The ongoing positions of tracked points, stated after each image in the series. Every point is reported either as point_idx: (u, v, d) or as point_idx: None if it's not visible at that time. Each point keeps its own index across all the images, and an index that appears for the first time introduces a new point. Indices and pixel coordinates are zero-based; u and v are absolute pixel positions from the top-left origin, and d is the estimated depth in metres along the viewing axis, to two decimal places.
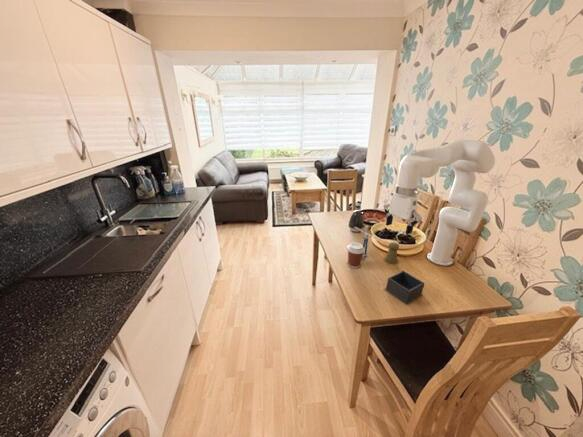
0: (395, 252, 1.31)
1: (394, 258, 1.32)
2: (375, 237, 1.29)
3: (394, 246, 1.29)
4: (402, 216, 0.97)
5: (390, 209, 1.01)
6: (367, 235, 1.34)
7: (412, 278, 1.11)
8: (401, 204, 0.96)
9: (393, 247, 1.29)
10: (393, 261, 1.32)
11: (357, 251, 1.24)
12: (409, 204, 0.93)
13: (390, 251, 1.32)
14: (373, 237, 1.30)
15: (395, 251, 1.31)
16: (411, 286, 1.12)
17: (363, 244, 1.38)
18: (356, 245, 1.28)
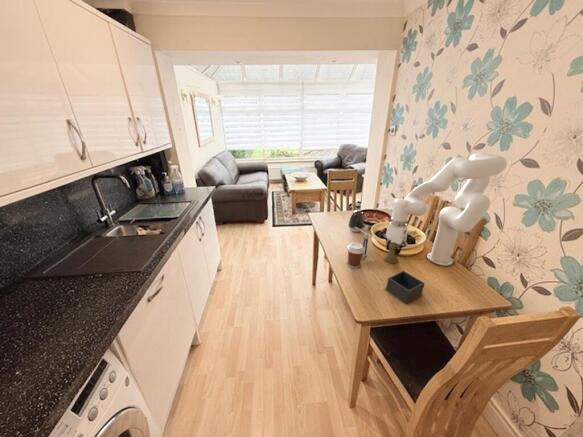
0: None
1: (394, 258, 1.32)
2: (375, 237, 1.29)
3: (394, 246, 1.29)
4: (396, 241, 1.27)
5: (387, 235, 1.31)
6: (367, 235, 1.34)
7: (412, 278, 1.11)
8: (395, 232, 1.26)
9: (393, 247, 1.29)
10: (393, 261, 1.32)
11: (357, 251, 1.24)
12: (400, 233, 1.23)
13: (390, 251, 1.32)
14: (373, 237, 1.30)
15: (395, 251, 1.31)
16: (411, 286, 1.12)
17: (363, 244, 1.38)
18: (356, 245, 1.28)
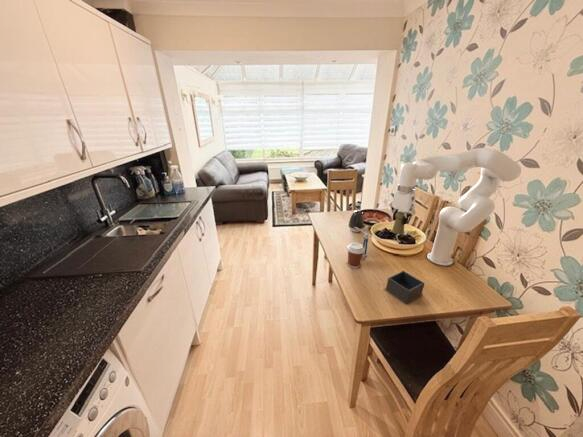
0: None
1: (401, 229, 1.24)
2: (375, 237, 1.29)
3: (401, 215, 1.21)
4: (403, 209, 1.19)
5: (393, 204, 1.23)
6: (367, 235, 1.34)
7: (412, 278, 1.11)
8: (402, 199, 1.18)
9: (400, 216, 1.21)
10: (400, 232, 1.24)
11: (357, 251, 1.24)
12: (408, 199, 1.15)
13: (397, 221, 1.23)
14: (373, 237, 1.30)
15: (402, 221, 1.22)
16: (411, 286, 1.12)
17: (363, 244, 1.38)
18: (356, 245, 1.28)
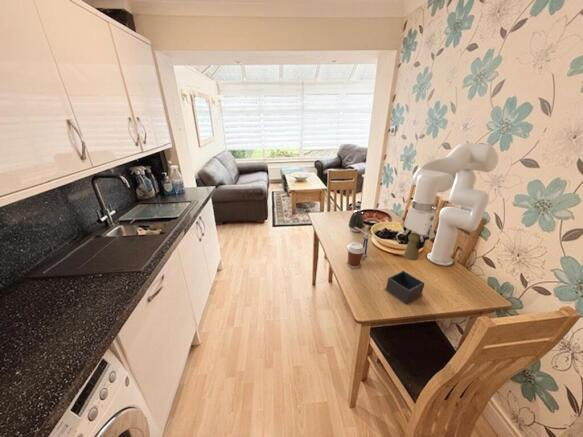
0: None
1: (415, 254, 1.01)
2: (375, 237, 1.29)
3: (416, 238, 0.98)
4: (419, 231, 0.96)
5: (406, 223, 1.00)
6: (367, 235, 1.34)
7: (412, 278, 1.11)
8: (418, 219, 0.95)
9: (415, 239, 0.98)
10: (414, 258, 1.01)
11: (357, 251, 1.24)
12: (426, 220, 0.92)
13: (410, 245, 1.01)
14: (373, 237, 1.30)
15: (417, 245, 1.00)
16: (411, 286, 1.12)
17: (363, 244, 1.38)
18: (356, 245, 1.28)
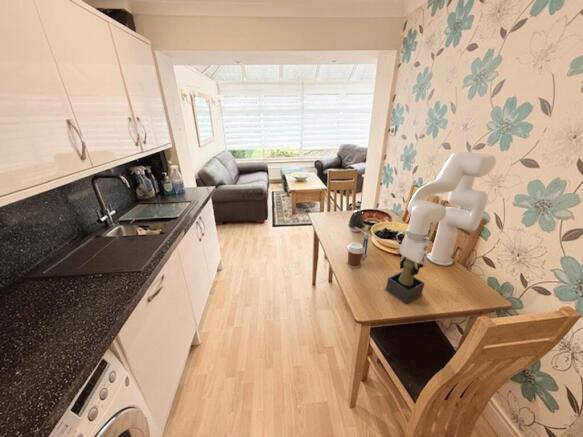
0: None
1: (410, 280, 1.05)
2: (375, 237, 1.29)
3: (411, 265, 1.02)
4: (413, 259, 1.00)
5: (401, 250, 1.05)
6: (367, 235, 1.34)
7: None
8: (412, 248, 0.99)
9: (409, 266, 1.03)
10: (409, 283, 1.05)
11: (357, 251, 1.24)
12: (420, 249, 0.97)
13: (405, 271, 1.05)
14: (373, 237, 1.30)
15: None
16: (411, 286, 1.12)
17: (363, 244, 1.38)
18: (356, 245, 1.28)
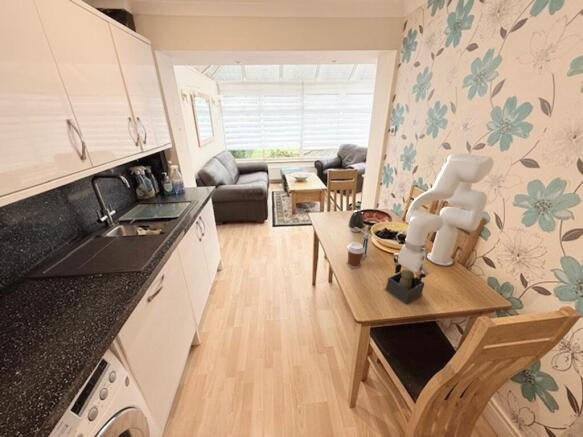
0: (409, 282, 1.06)
1: (408, 289, 1.07)
2: (375, 237, 1.29)
3: (408, 275, 1.05)
4: (411, 269, 1.02)
5: (399, 260, 1.07)
6: (367, 235, 1.34)
7: None
8: (410, 258, 1.01)
9: (407, 276, 1.05)
10: None
11: (357, 251, 1.24)
12: (417, 259, 0.99)
13: (403, 281, 1.07)
14: (373, 237, 1.30)
15: (409, 281, 1.06)
16: (411, 286, 1.12)
17: (363, 244, 1.38)
18: (356, 245, 1.28)
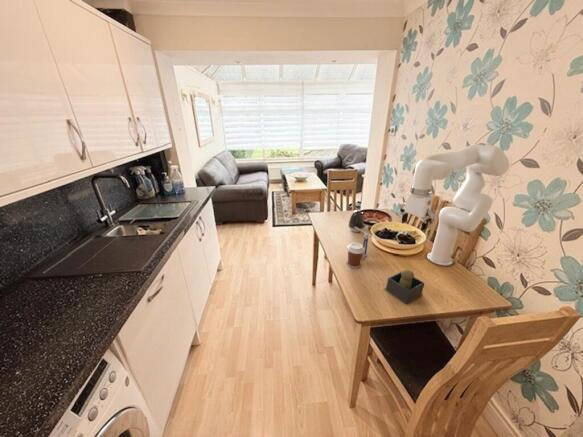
0: (409, 282, 1.06)
1: (408, 289, 1.07)
2: (375, 237, 1.29)
3: (408, 275, 1.05)
4: (418, 214, 1.07)
5: (406, 208, 1.11)
6: (367, 235, 1.34)
7: None
8: (416, 204, 1.06)
9: (407, 276, 1.05)
10: None
11: (357, 251, 1.24)
12: (424, 204, 1.03)
13: (403, 281, 1.07)
14: (373, 237, 1.30)
15: (409, 281, 1.06)
16: (411, 286, 1.12)
17: (363, 244, 1.38)
18: (356, 245, 1.28)
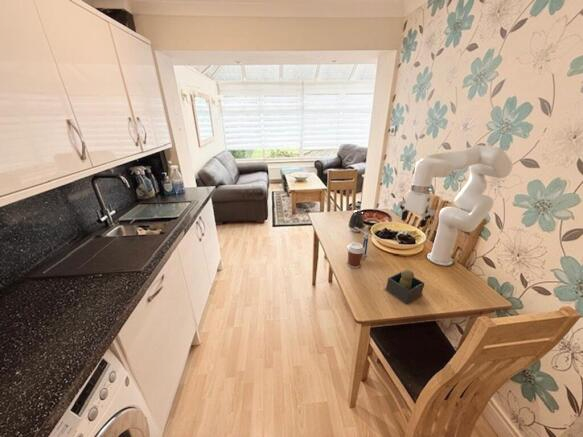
0: (409, 282, 1.06)
1: (408, 289, 1.07)
2: (375, 237, 1.29)
3: (408, 275, 1.05)
4: (417, 211, 1.09)
5: (406, 205, 1.13)
6: (367, 235, 1.34)
7: None
8: (416, 200, 1.07)
9: (407, 276, 1.05)
10: None
11: (357, 251, 1.24)
12: (423, 201, 1.05)
13: (403, 281, 1.07)
14: (373, 237, 1.30)
15: (409, 281, 1.06)
16: (411, 286, 1.12)
17: (363, 244, 1.38)
18: (356, 245, 1.28)
